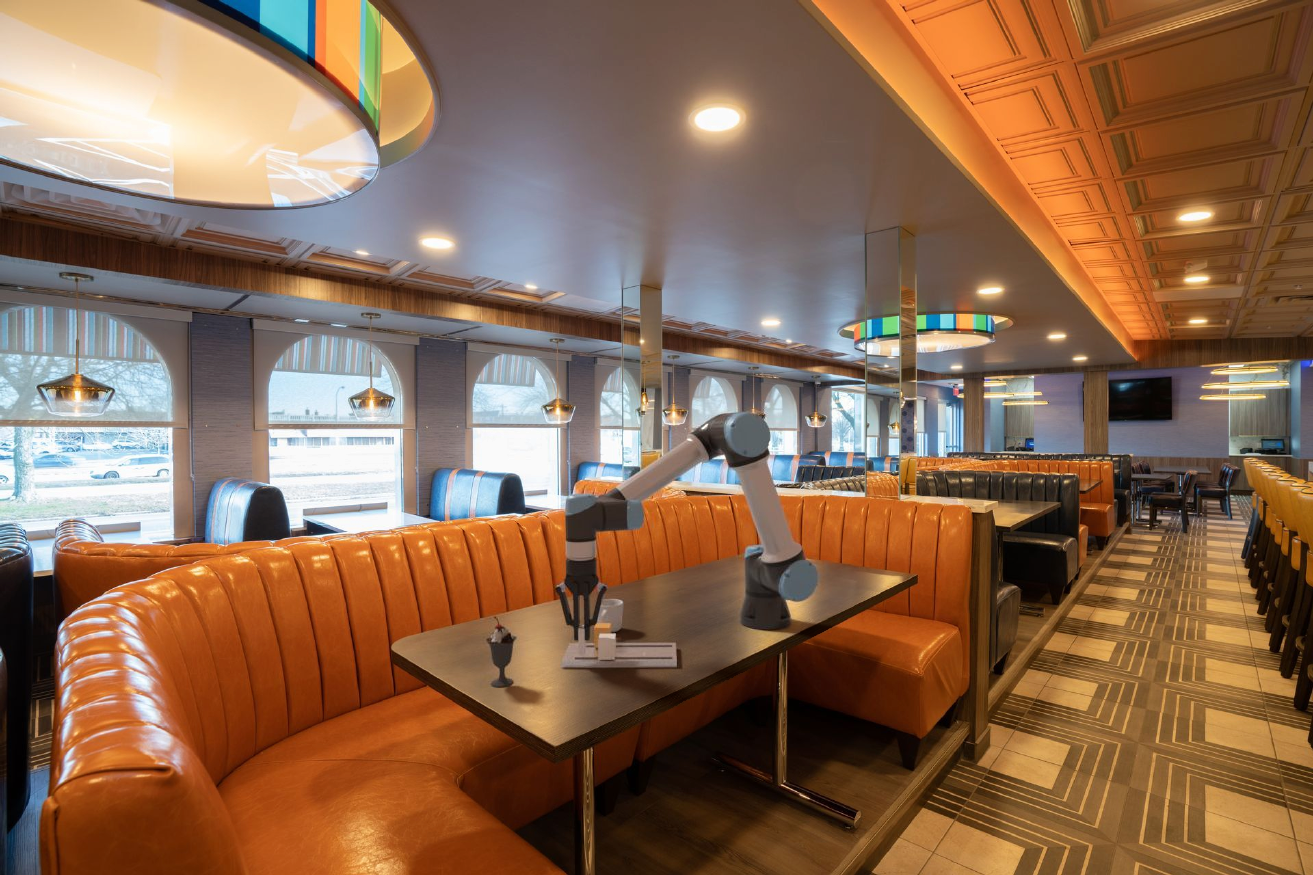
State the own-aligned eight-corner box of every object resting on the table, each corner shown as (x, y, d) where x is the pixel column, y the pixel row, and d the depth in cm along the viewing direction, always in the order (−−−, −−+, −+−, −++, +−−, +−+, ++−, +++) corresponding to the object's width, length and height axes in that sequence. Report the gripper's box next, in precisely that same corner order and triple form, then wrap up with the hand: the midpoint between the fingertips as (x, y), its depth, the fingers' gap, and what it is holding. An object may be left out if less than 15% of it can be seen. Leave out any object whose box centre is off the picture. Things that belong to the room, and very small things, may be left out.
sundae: (489, 677, 142) (489, 613, 142) (518, 676, 143) (518, 612, 143) (484, 689, 136) (483, 622, 135) (514, 688, 136) (514, 621, 136)
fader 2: (616, 653, 152) (615, 633, 152) (614, 659, 148) (614, 638, 148) (599, 653, 152) (599, 633, 152) (598, 659, 148) (598, 638, 148)
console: (675, 648, 161) (675, 642, 161) (676, 667, 148) (676, 660, 148) (569, 648, 161) (569, 642, 161) (561, 667, 148) (561, 660, 148)
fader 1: (611, 642, 160) (610, 623, 160) (609, 647, 156) (609, 627, 156) (595, 642, 160) (595, 623, 160) (594, 647, 156) (594, 627, 156)
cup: (617, 638, 169) (616, 609, 169) (589, 636, 170) (589, 608, 170) (626, 626, 179) (626, 599, 179) (600, 625, 181) (600, 598, 181)
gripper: (609, 554, 153) (610, 647, 154) (557, 554, 154) (558, 647, 154) (606, 560, 146) (607, 658, 146) (551, 560, 146) (553, 658, 146)
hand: (582, 653), depth 150 cm, fingers closed
